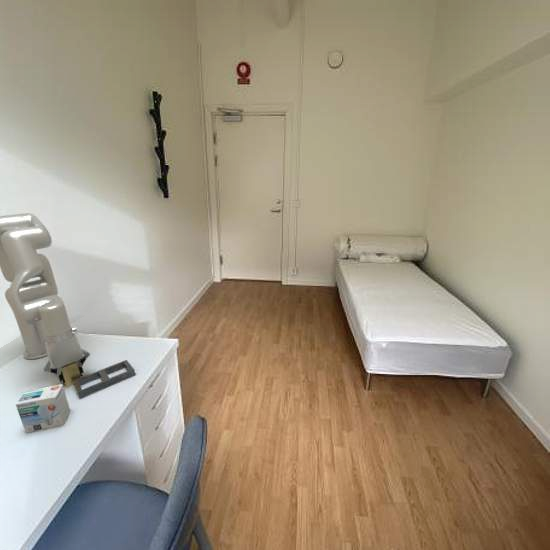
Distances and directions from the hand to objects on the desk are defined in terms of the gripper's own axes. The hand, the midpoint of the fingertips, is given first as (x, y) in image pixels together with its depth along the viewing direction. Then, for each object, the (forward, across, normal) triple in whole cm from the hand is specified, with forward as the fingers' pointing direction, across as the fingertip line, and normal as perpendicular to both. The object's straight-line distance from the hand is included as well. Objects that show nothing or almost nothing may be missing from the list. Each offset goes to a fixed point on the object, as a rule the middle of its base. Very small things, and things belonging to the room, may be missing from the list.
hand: (72, 377), depth 119 cm
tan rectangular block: (+2, 0, 0) cm, 2 cm away
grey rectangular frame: (+2, -9, +8) cm, 12 cm away
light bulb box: (+2, +10, +18) cm, 21 cm away
